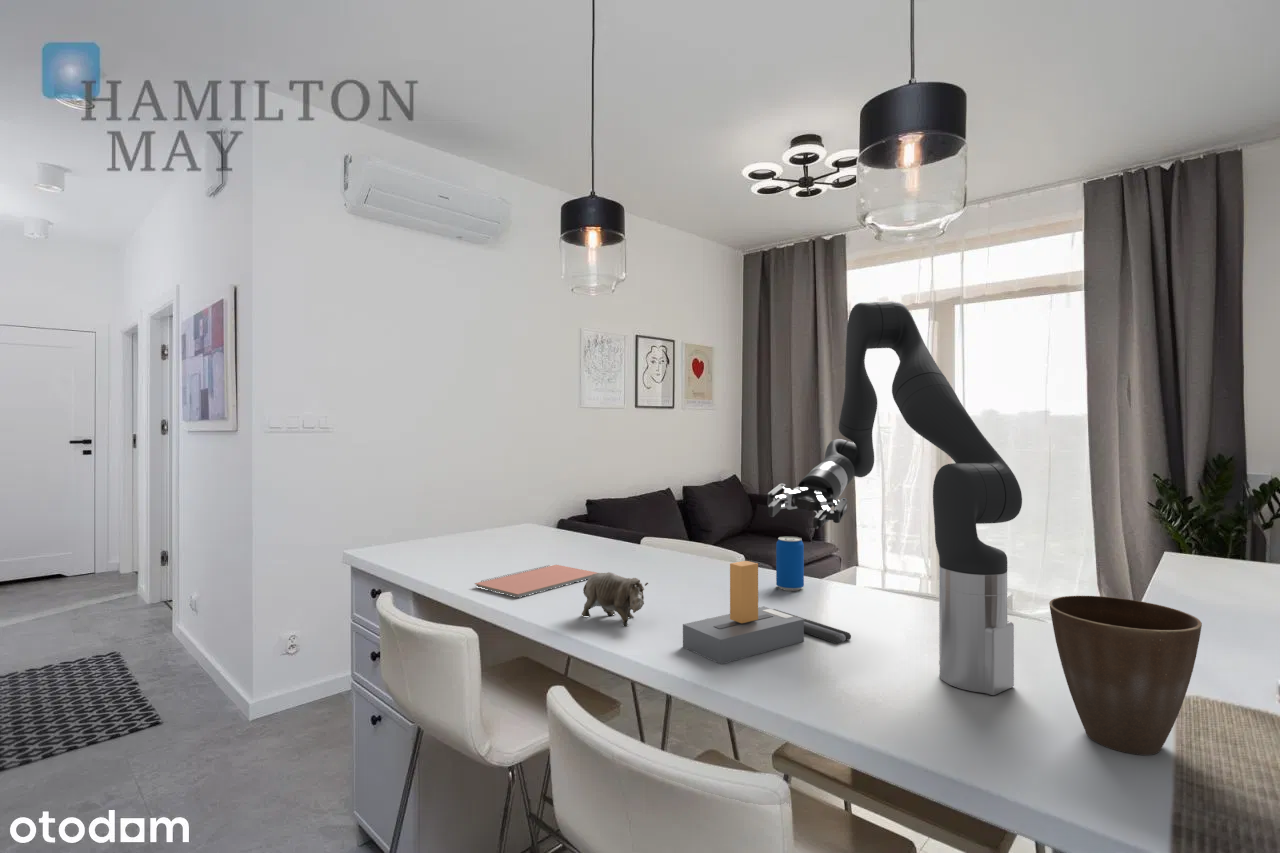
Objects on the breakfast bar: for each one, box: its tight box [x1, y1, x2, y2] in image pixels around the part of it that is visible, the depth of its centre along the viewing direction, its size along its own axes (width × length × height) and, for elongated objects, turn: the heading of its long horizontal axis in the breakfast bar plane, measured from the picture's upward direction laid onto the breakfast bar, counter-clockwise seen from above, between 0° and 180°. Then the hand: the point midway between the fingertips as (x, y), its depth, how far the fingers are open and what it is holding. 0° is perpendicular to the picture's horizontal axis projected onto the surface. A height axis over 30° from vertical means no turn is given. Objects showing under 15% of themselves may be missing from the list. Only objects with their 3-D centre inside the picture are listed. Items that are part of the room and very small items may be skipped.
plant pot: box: [1048, 595, 1203, 756], centre depth 78 cm, size 15×15×16 cm
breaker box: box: [682, 606, 805, 665], centre depth 113 cm, size 10×20×4 cm, turn 124°
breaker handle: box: [729, 560, 759, 623], centre depth 113 cm, size 3×4×10 cm
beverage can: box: [775, 536, 805, 592], centre depth 153 cm, size 6×6×12 cm
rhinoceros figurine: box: [581, 571, 649, 627], centre depth 128 cm, size 8×14×15 cm
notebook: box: [474, 564, 598, 598], centre depth 159 cm, size 27×17×2 cm, turn 141°
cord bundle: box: [773, 608, 852, 644], centre depth 120 cm, size 19×10×1 cm, turn 34°
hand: (792, 518), depth 116 cm, fingers open, 8 cm apart
